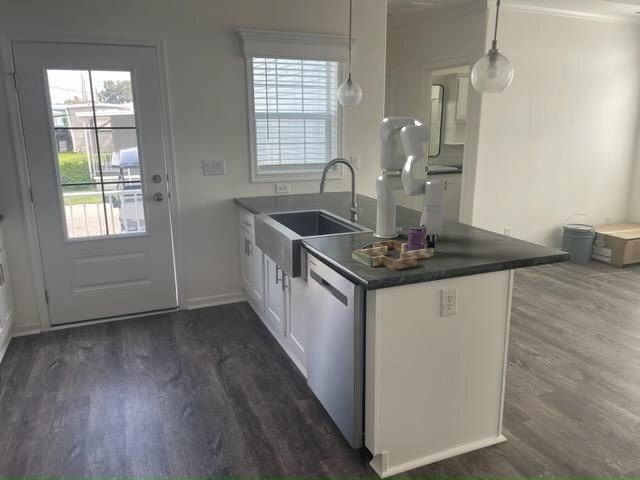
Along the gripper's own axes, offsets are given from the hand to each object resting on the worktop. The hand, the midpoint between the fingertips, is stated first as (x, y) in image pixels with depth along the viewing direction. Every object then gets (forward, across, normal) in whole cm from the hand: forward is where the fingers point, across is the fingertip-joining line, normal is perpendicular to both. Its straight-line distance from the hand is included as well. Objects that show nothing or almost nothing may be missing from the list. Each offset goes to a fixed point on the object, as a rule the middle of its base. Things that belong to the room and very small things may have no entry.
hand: (430, 249), depth 214 cm
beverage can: (+1, +8, 0) cm, 9 cm away
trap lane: (+1, +20, 0) cm, 21 cm away
